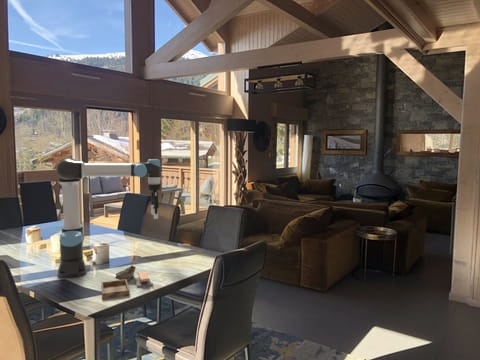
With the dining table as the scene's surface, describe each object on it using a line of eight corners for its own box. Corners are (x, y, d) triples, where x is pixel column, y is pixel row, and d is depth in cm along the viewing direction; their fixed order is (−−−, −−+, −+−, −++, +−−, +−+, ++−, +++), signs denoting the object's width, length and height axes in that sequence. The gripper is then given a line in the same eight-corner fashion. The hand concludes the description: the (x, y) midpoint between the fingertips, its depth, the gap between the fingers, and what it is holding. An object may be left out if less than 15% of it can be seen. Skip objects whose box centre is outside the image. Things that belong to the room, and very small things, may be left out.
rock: (132, 273, 212) (136, 264, 206) (135, 282, 209) (139, 273, 203) (112, 276, 206) (115, 267, 200) (114, 286, 203) (118, 277, 197)
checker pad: (140, 281, 195) (140, 279, 195) (138, 274, 205) (138, 272, 205) (149, 280, 197) (149, 278, 196) (146, 273, 207) (146, 271, 207)
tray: (102, 299, 180) (102, 293, 179) (101, 287, 194) (101, 282, 194) (129, 295, 184) (129, 290, 184) (126, 284, 199) (126, 279, 198)
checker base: (137, 287, 194) (137, 282, 194) (134, 279, 205) (134, 274, 205) (153, 285, 197) (152, 280, 197) (149, 278, 208) (149, 273, 208)
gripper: (163, 185, 228) (163, 220, 230) (157, 181, 251) (158, 212, 253) (150, 186, 225) (150, 220, 227) (146, 181, 248) (146, 213, 251)
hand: (154, 216), depth 240 cm, fingers open, 13 cm apart
